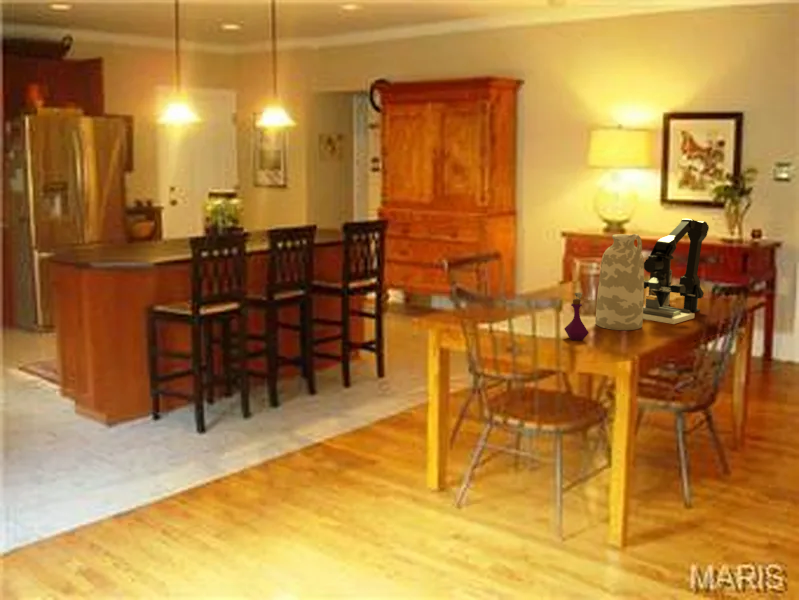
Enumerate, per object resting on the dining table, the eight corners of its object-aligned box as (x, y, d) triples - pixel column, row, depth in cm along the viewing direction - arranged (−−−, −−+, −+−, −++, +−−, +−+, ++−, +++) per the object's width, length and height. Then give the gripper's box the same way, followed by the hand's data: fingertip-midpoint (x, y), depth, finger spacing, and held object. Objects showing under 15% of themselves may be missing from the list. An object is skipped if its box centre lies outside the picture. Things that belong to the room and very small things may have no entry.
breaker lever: (649, 308, 395) (650, 295, 394) (658, 310, 392) (659, 296, 391) (645, 310, 392) (646, 296, 391) (653, 311, 390) (654, 297, 388)
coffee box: (647, 304, 417) (649, 269, 414) (649, 302, 423) (651, 267, 420) (668, 306, 414) (670, 271, 411) (669, 303, 420) (672, 269, 417)
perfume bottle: (563, 336, 350) (566, 290, 347) (582, 336, 351) (585, 290, 348) (568, 341, 343) (571, 294, 340) (588, 341, 344) (591, 294, 340)
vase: (586, 322, 376) (591, 230, 369) (623, 319, 384) (629, 228, 377) (616, 333, 358) (622, 235, 351) (654, 329, 365) (661, 234, 358)
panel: (647, 310, 404) (648, 302, 403) (694, 318, 389) (694, 310, 388) (626, 315, 391) (626, 307, 391) (673, 324, 376) (674, 315, 375)
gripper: (633, 269, 387) (631, 306, 390) (674, 274, 374) (672, 312, 377) (646, 267, 395) (644, 302, 398) (687, 271, 382) (684, 308, 385)
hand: (661, 306), depth 389 cm, fingers closed
